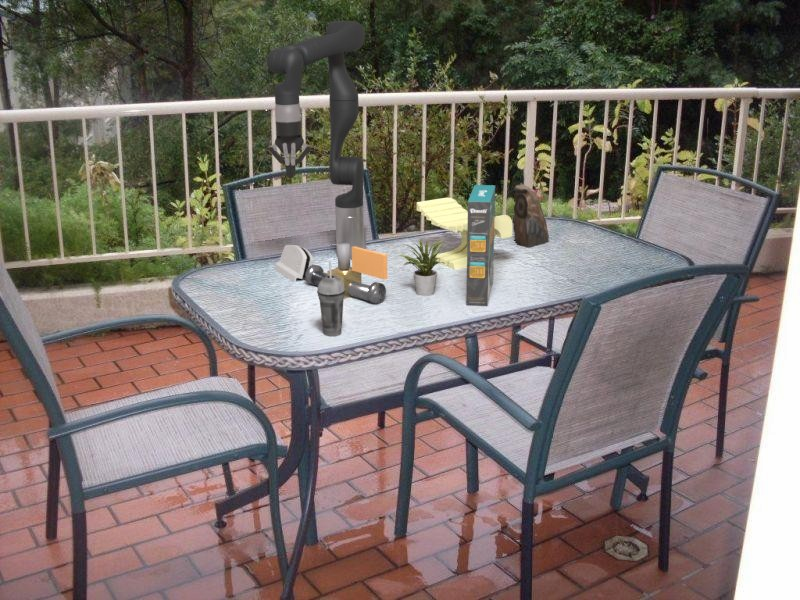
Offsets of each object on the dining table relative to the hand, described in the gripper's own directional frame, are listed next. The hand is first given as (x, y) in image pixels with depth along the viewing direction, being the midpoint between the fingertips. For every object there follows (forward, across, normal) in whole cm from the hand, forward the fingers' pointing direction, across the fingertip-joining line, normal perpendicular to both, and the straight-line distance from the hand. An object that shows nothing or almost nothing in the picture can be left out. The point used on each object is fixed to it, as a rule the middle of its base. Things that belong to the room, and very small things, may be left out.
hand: (291, 177), depth 277 cm
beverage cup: (+31, +12, -50) cm, 60 cm away
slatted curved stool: (+32, +54, +14) cm, 64 cm away
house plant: (+32, +39, -17) cm, 53 cm away
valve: (+31, +15, -17) cm, 39 cm away
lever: (+23, +20, -23) cm, 38 cm away
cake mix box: (+32, +55, -20) cm, 66 cm away
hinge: (+32, -1, +4) cm, 32 cm away
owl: (+33, +80, +34) cm, 93 cm away
